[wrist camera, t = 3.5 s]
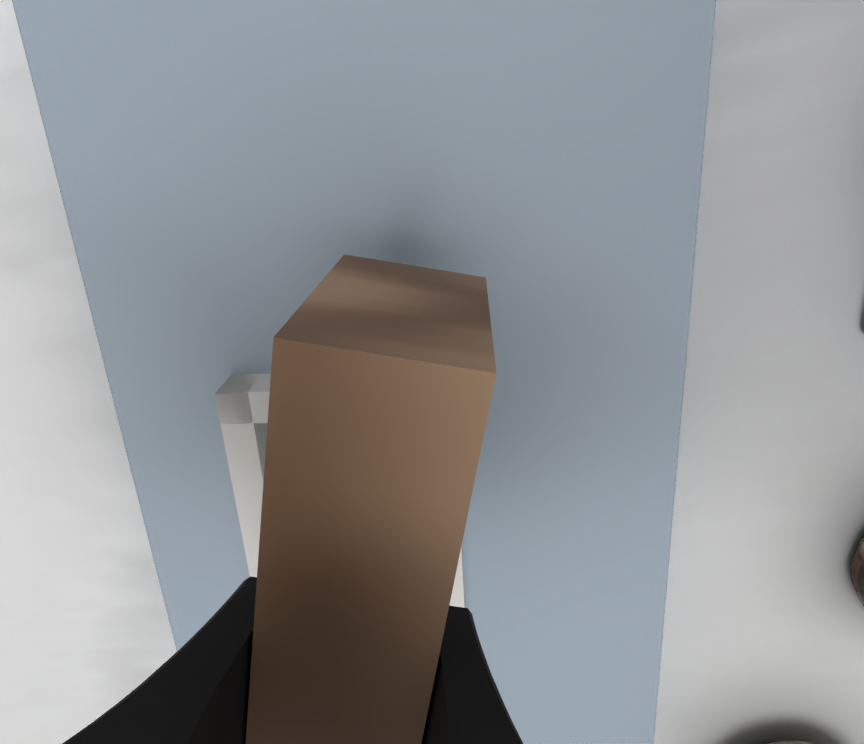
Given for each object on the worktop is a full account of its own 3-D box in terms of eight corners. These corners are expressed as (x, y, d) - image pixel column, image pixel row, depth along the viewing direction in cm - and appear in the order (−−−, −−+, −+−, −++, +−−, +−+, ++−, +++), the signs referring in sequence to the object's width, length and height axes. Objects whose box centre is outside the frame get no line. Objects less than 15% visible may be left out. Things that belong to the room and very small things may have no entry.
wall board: (719, -207, 16) (762, -260, 14) (647, 721, 27) (664, 780, 25) (-1, -141, 17) (-74, -180, 15) (209, 724, 28) (186, 779, 26)
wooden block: (485, 277, 14) (496, 372, 9) (407, 700, 18) (384, 927, 13) (343, 254, 14) (272, 337, 9) (298, 683, 18) (233, 904, 13)
